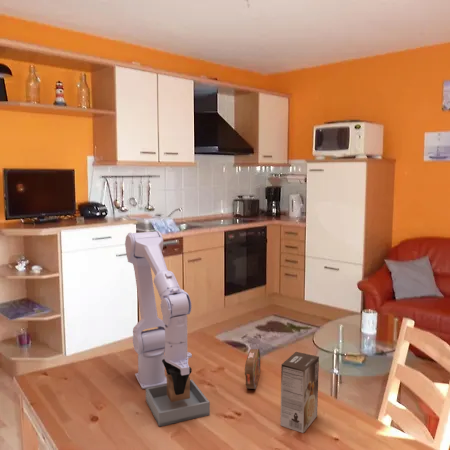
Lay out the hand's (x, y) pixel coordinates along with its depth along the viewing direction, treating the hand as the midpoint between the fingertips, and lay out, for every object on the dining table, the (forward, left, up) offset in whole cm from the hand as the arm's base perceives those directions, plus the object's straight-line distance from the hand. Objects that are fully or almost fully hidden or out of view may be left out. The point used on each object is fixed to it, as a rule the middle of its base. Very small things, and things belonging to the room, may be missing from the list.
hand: (176, 389), depth 117 cm
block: (0, 0, -2) cm, 2 cm away
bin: (0, 0, -5) cm, 5 cm away
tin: (-5, +25, -5) cm, 26 cm away
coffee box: (+18, +26, -5) cm, 32 cm away
